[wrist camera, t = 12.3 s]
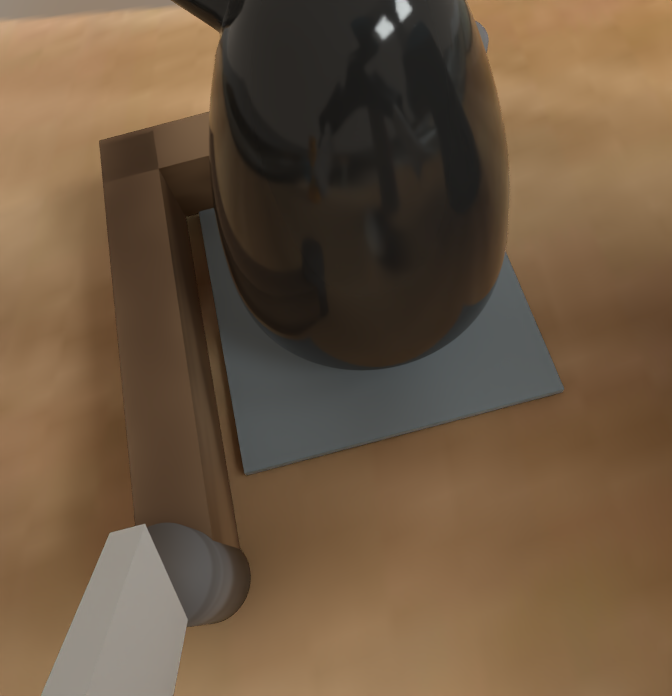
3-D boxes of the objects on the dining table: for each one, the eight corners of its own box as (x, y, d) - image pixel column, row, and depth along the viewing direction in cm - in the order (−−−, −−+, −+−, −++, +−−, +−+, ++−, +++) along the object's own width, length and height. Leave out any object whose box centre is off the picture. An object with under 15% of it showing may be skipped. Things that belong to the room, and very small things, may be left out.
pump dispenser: (303, 172, 29) (210, -232, 15) (516, 227, 26) (647, -195, 12) (212, 356, 25) (-22, 58, 11) (446, 438, 23) (516, 186, 9)
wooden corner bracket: (463, 98, 30) (474, 8, 25) (648, 509, 21) (715, 484, 17) (126, 187, 30) (76, 113, 25) (177, 633, 21) (116, 642, 17)
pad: (458, 148, 29) (459, 143, 28) (561, 392, 23) (564, 389, 23) (201, 216, 29) (198, 211, 28) (246, 475, 23) (244, 473, 23)
